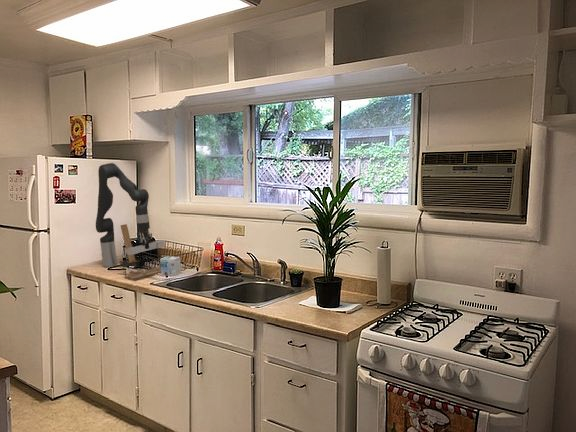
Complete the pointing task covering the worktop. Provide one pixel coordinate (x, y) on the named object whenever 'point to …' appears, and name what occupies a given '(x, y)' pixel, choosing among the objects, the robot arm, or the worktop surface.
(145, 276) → the tool board
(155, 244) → the spanner
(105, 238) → the robot arm
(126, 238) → the hammer
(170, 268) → the light bulb box
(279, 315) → the worktop surface
